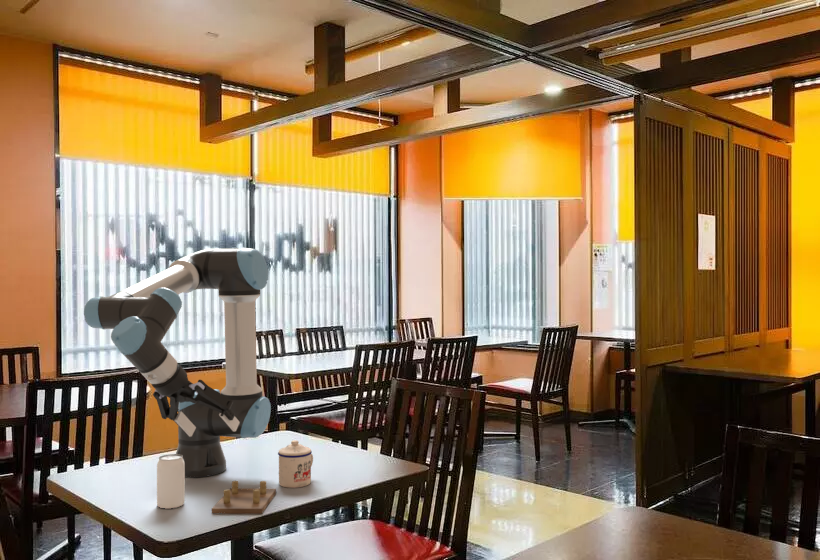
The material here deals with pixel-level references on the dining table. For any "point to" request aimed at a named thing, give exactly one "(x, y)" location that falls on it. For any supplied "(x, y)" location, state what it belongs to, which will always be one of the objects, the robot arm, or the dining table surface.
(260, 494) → the pin tray
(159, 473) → the can
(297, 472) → the teacup with lid
